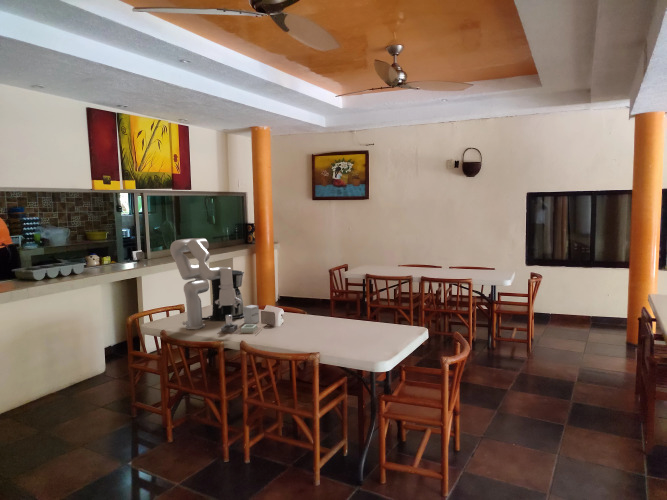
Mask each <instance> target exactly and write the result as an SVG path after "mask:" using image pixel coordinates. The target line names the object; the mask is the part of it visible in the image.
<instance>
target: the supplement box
mask: <svg viewBox="0 0 667 500" xmlns="http://www.w3.org/2000/svg"><path fill="white" fill-rule="evenodd" d="M243 307H244V317H243V320H244V321H243V323H244V324H257V323H260V310H259V305H254V304H250V305H246V306H243Z"/></svg>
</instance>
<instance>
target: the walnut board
mask: <svg viewBox="0 0 667 500" xmlns="http://www.w3.org/2000/svg"><path fill="white" fill-rule="evenodd" d="M232 325H233V327H226V323H225V324H224V325H223V326H221V328H220V331H218V332H217V333H216V334H217V335H257V334H258V333H259V332H260V331H261V330H262V327H257V330H256V331H255V332H254V333H241V328H242V327H238V324H236V323H235V324H233V323H232Z"/></svg>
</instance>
